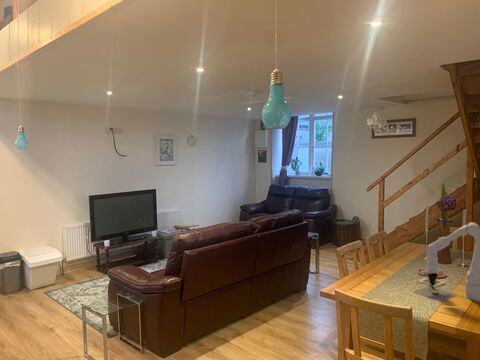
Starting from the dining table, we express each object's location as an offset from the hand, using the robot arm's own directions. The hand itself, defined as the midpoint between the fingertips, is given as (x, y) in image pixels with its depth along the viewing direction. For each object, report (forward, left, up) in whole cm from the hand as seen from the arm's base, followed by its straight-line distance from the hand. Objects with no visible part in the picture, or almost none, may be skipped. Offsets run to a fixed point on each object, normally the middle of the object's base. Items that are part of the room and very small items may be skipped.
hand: (432, 285), depth 224 cm
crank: (-2, +3, -2) cm, 5 cm away
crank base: (-5, +5, -4) cm, 8 cm away
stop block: (+6, -11, -3) cm, 13 cm away
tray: (+6, -11, -4) cm, 13 cm away
